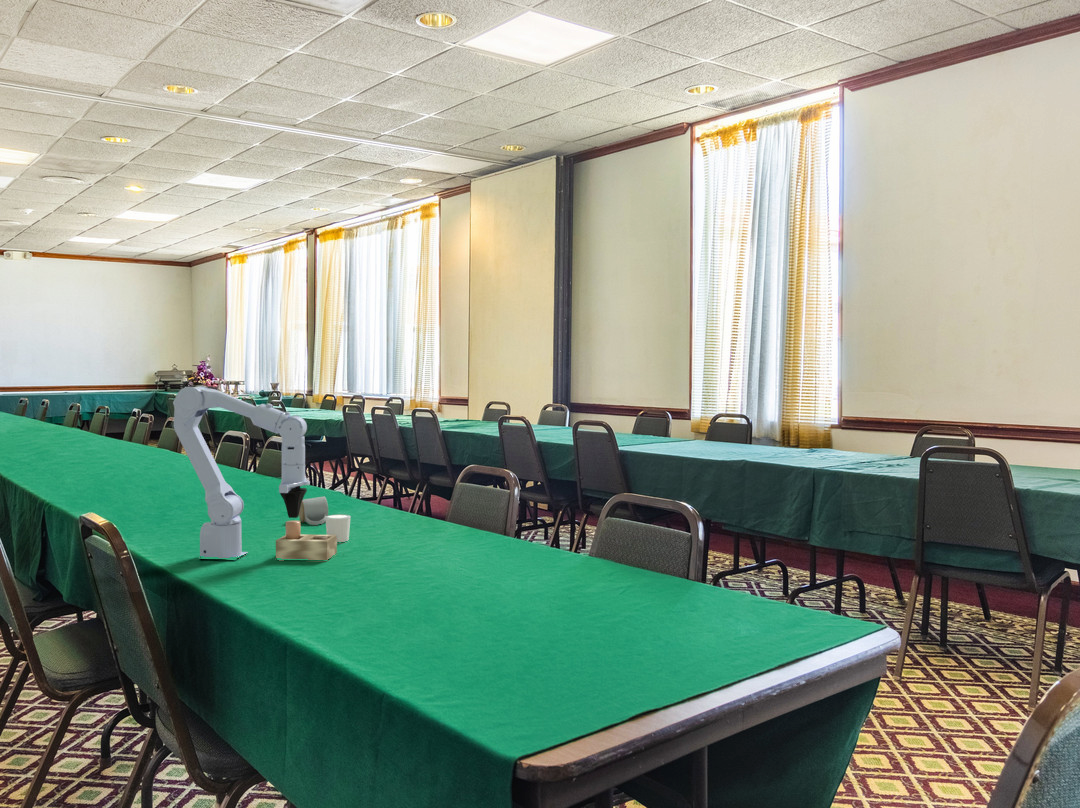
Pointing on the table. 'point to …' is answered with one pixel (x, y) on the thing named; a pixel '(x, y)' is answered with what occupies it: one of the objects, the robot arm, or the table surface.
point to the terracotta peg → (293, 530)
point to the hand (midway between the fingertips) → (293, 517)
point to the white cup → (338, 526)
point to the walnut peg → (320, 538)
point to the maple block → (306, 547)
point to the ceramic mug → (313, 510)
